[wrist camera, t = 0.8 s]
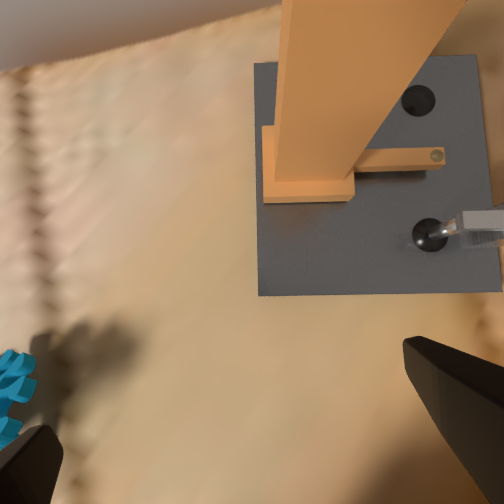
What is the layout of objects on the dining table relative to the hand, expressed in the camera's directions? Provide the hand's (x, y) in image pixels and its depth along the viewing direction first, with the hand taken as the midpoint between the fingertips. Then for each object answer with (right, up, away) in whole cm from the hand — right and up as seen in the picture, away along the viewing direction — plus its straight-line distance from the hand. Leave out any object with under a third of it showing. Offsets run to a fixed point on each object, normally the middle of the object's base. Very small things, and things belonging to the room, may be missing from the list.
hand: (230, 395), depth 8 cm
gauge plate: (+9, +9, +17) cm, 21 cm away
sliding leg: (+7, +10, +15) cm, 20 cm away
